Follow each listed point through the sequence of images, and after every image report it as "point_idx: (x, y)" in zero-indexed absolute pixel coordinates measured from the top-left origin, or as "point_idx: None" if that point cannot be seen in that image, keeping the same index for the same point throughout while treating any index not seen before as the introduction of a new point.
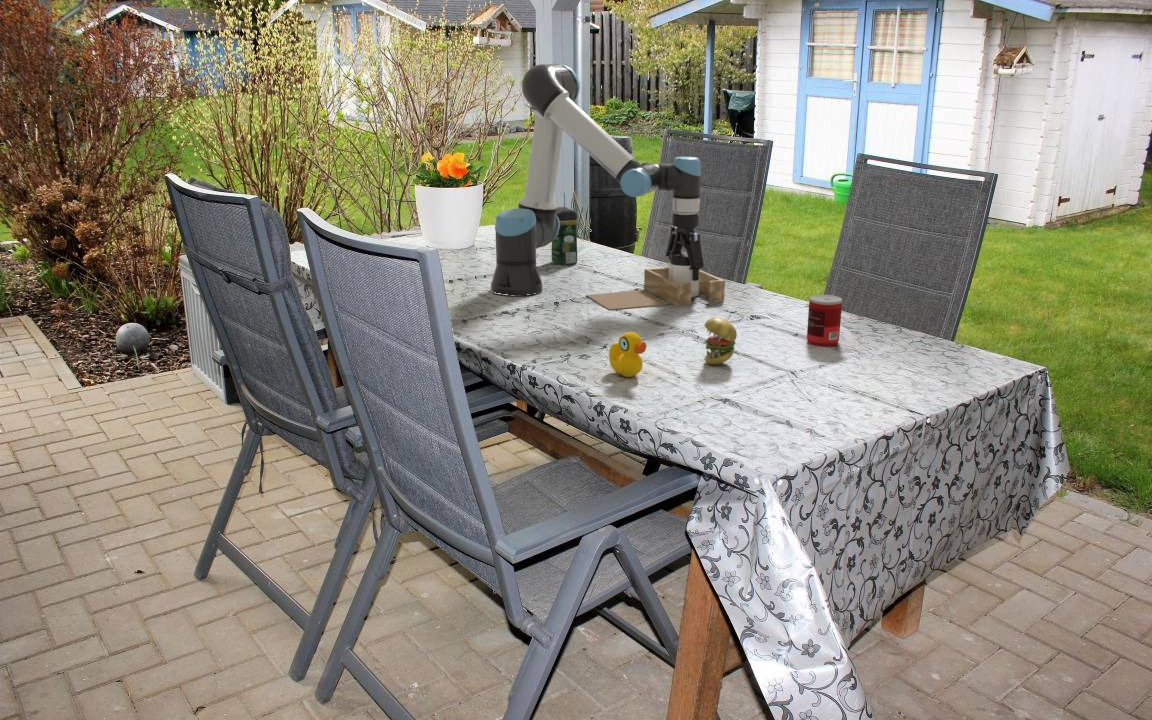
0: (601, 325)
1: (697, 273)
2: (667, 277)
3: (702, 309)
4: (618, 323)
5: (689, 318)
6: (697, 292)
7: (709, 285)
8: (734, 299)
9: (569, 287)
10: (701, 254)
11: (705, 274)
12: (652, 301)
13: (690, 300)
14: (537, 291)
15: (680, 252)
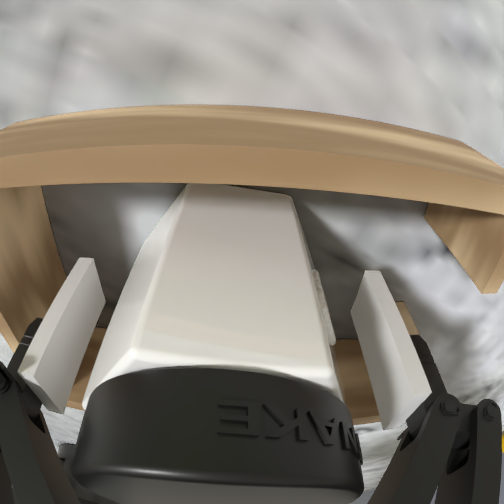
0: (386, 451)
1: (433, 380)
2: (34, 289)
3: (474, 294)
4: (398, 440)
5: (489, 351)
6: (297, 215)
7: (473, 275)
8: (458, 62)
9: (67, 423)
10: (496, 492)
11: (263, 181)
12: None
13: (409, 315)
14: None
15: (115, 495)
